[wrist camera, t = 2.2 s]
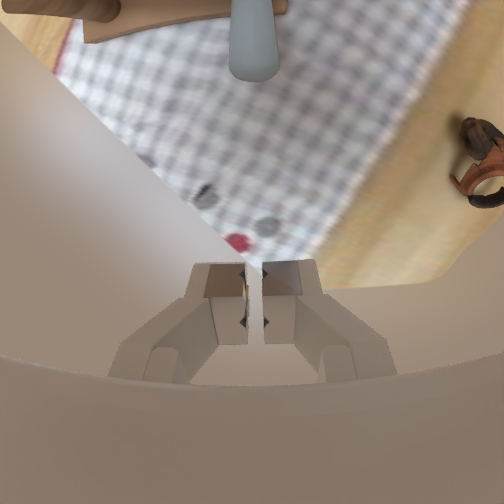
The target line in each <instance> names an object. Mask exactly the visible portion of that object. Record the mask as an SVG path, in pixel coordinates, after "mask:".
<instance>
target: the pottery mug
mask: <svg viewBox="0 0 504 504" xmlns="http://www.w3.org/2000/svg"><path fill="white" fill-rule="evenodd" d="M462 126H463V129H462V131H461V133H460V136H461V139H462V140H463V141H464V143H465V147H466V148H467V152H468V153H469V155H471V156H472V157H473V158H474V159H475V160H482V161H481V163H480V164H479V165H477V164H475V163H473V164H472V165H471V167H470V168H469V169H468V171H467V172H466V173H465V176H464V177H463V179H462V180H461V183H459V182H458V181H457V179H456V177H455V176H454V175H451V178H452V180H453V182H454V184H455V185H456V187H457V189H458V190H459V191H460V192H461V193H463V194H464V195H465V196H467V197H468V199H469V203H470V204H471V205H472V206H475V207H477V208H494V207H497V206H500V205H503V204H504V187H503V186H502V187H501V188H500V190H499V191H498V192H496V193H493V194H489V195H487V196H483V195H472V193H473V191H474V189H475V187H476V186H477V185H478V184H479V183H481V182H482V181H484V180H485V179H487V178H490V177H493V176H504V135H503V133H502V132H500V131H499V130H498V129H497V128H496V127H495V126H494V125H493V124H491V123H490V122H488V121H485V120H477V119H476V118H471V117H468V118H467V119H465V120H464V121H463V123H462ZM490 139H492V141H493V142H494V143H495V144H496V145H495V144H494V145H493V144H492V142H491V141H490Z"/></svg>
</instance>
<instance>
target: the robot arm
mask: <svg viewBox="0 0 504 504" xmlns="http://www.w3.org/2000/svg"><path fill="white" fill-rule="evenodd" d="M262 272H263V279H262V298H263V316H264V340H265V344H294V345H295V347H296V348H297V349H298V350H299V352H300V353H301V354H302V355H303V356H304V358H305V359H306V360H307V361H308V363H309V364H310V365H311V366H312V367H313V369H314V370H315V371H316V372H317V373H318V377H317V382H316V384H301V385H276V386H215V385H191V384H190V382H189V381H190V380H191V379H192V378H193V376H194V375H195V374H196V373H197V372H198V370H199V369H200V368H201V367H202V366H203V365H204V363H205V362H206V361H207V360H208V358H209V357H210V356H211V355H212V354H213V353H214V351H215V350H216V349H217V347H218V345H238V344H239V345H240V344H248V328H249V327H248V317H249V286H248V285H247V275H248V274H247V265H246V262H213V263H210V262H207V263H195V264H194V265H193V269H192V272H191V275H190V278H189V282H188V285H187V288H186V292H185V295H184V298H178V299H177V300H175V301H174V302H173V303H172V304H170V305H169V306H168V307H166V308H165V309H164V310H162V312H160V313H159V314H157V315H156V316H155V317H153V318H152V319H151V320H149V321H148V322H147V323H146V324H144V325H143V326H142V327H140V328H139V329H138V330H136V331H135V332H134V333H133V334H132V335H130V336H129V337H127V338H126V339H125V340H123V341H122V342H121V343H120V345H119V347H118V350H117V352H116V355H115V357H114V360H113V362H112V365H111V367H110V370H109V372H108V375H107V376H99V375H94V374H87V373H81V372H75V371H70V370H64V369H59V368H54V367H49V366H44V365H40V364H35V363H31V362H27V361H22V360H18V359H14V358H10V357H7V356H3V355H0V504H504V352H501V353H498V354H494V355H490V356H487V357H482V358H478V359H474V360H470V361H466V362H462V363H457V364H453V365H448V366H443V367H439V368H433V369H428V370H423V371H417V372H411V373H405V374H399V375H398V374H397V371H396V368H395V364H394V361H393V358H392V355H391V352H390V349H389V346H388V343H387V340H386V339H385V338H384V337H382V336H381V335H380V334H378V333H377V332H376V331H375V330H373V329H372V328H371V327H370V326H368V325H367V324H366V323H364V322H363V321H362V320H360V319H359V318H358V317H356V316H355V315H354V314H352V313H351V312H350V311H349V310H347V309H346V308H345V307H344V306H342V305H341V304H340V303H339V302H337V301H336V300H335V299H333V298H332V297H331V296H330V295H328V294H323V293H322V288H321V284H320V279H319V275H318V271H317V266H316V262H315V260H314V259H305V260H294V261H274V262H263V263H262Z"/></svg>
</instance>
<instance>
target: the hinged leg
mask: <svg viewBox="0 0 504 504" xmlns="http://www.w3.org/2000/svg"><path fill="white" fill-rule="evenodd" d="M229 69H230V72H231V73H232V74H233V75H234V76H235V77H236V78H238V79H240V80H243V81H247V82H260V81H264V80H267V79H269V78H271V77H273V76H274V75H275V74H276V73H277V72H278V70H279V56H278V47H277V39H276V31H275V23H274V15H273V8H272V0H232V5H231V26H230V49H229Z"/></svg>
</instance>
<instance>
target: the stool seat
mask: <svg viewBox="0 0 504 504" xmlns="http://www.w3.org/2000/svg"><path fill="white" fill-rule="evenodd" d="M231 5H232V0H2V9H3V10H4V12H6V13H12V14H35V15H49V16H59V17H68V18H76V19H83V33H84V43H92V44H96V43H99V42H102V41H106V40H109V39H112V38H116V37H119V36H123V35H127V34H131V33H135V32H139V31H143V30H147V29H152V28H156V27H161V26H166V25H171V24H177V23H183V22H189V21H196V20H203V19H211V18H219V17H229V16H231ZM272 8H273V14H285V13H286V10H287V6H286V0H272Z"/></svg>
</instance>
